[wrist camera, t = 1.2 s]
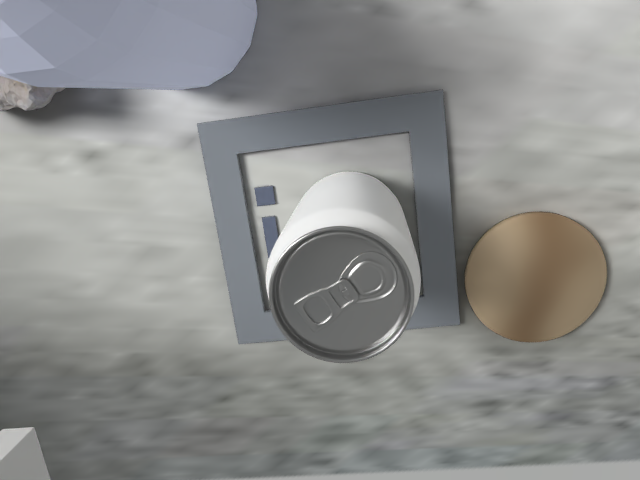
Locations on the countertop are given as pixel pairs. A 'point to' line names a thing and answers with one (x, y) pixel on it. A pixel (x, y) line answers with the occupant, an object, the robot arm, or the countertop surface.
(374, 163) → the countertop surface
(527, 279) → the coaster
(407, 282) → the can
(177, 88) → the soap bottle
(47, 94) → the stone
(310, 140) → the frame
